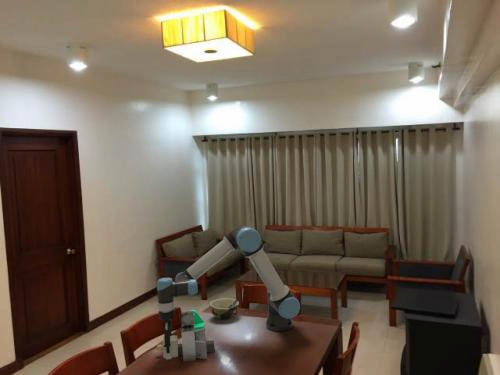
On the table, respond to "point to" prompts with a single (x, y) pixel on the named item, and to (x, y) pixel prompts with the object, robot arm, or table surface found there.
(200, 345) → the housing
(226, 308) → the bowl
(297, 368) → the table surface
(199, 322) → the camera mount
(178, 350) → the grey beam
